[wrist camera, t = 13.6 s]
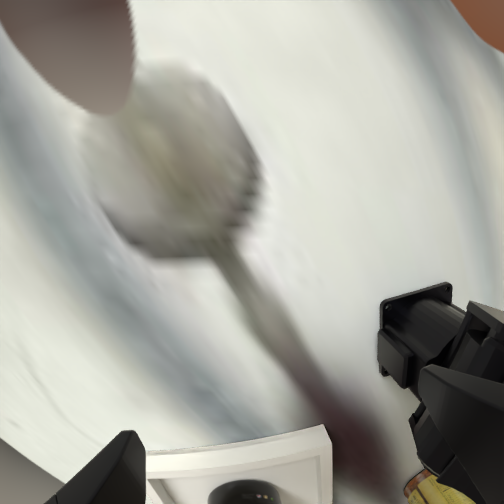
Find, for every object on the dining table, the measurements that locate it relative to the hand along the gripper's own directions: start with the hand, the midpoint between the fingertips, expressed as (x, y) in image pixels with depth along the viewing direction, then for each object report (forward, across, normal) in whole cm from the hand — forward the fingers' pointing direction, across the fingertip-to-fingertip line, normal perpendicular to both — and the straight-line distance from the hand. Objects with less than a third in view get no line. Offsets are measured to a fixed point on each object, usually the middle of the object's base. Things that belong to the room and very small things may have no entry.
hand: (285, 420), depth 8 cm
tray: (+12, +4, +21) cm, 25 cm away
